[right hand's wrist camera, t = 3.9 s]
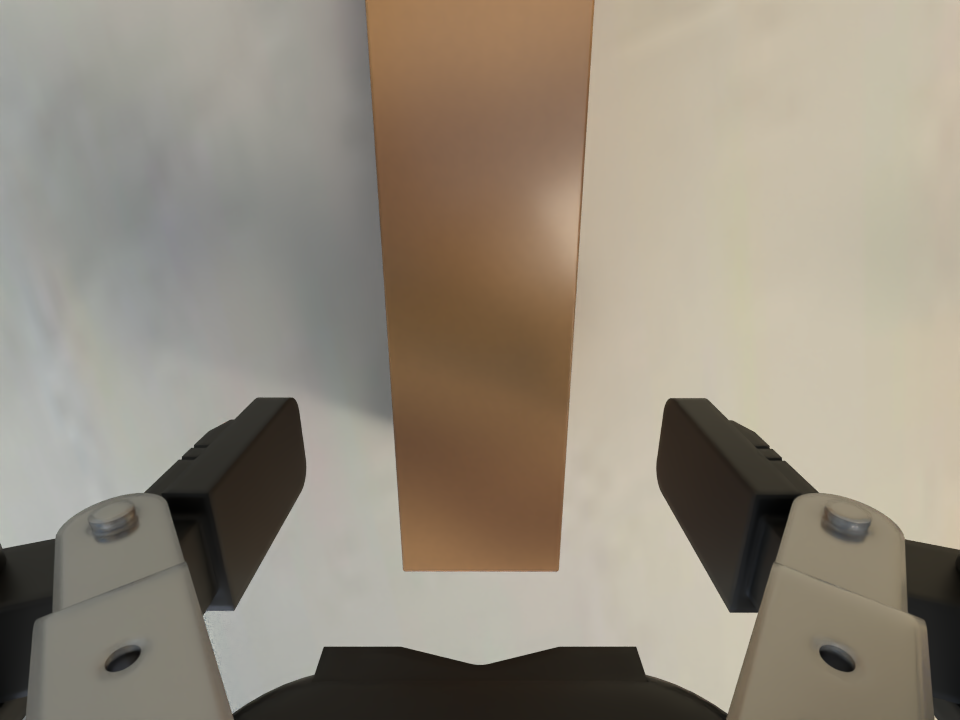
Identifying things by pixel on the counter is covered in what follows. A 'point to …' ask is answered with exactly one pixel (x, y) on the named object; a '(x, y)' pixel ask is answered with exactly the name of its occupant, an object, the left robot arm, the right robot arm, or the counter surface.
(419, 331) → the post
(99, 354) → the counter surface
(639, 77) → the counter surface
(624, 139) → the counter surface
